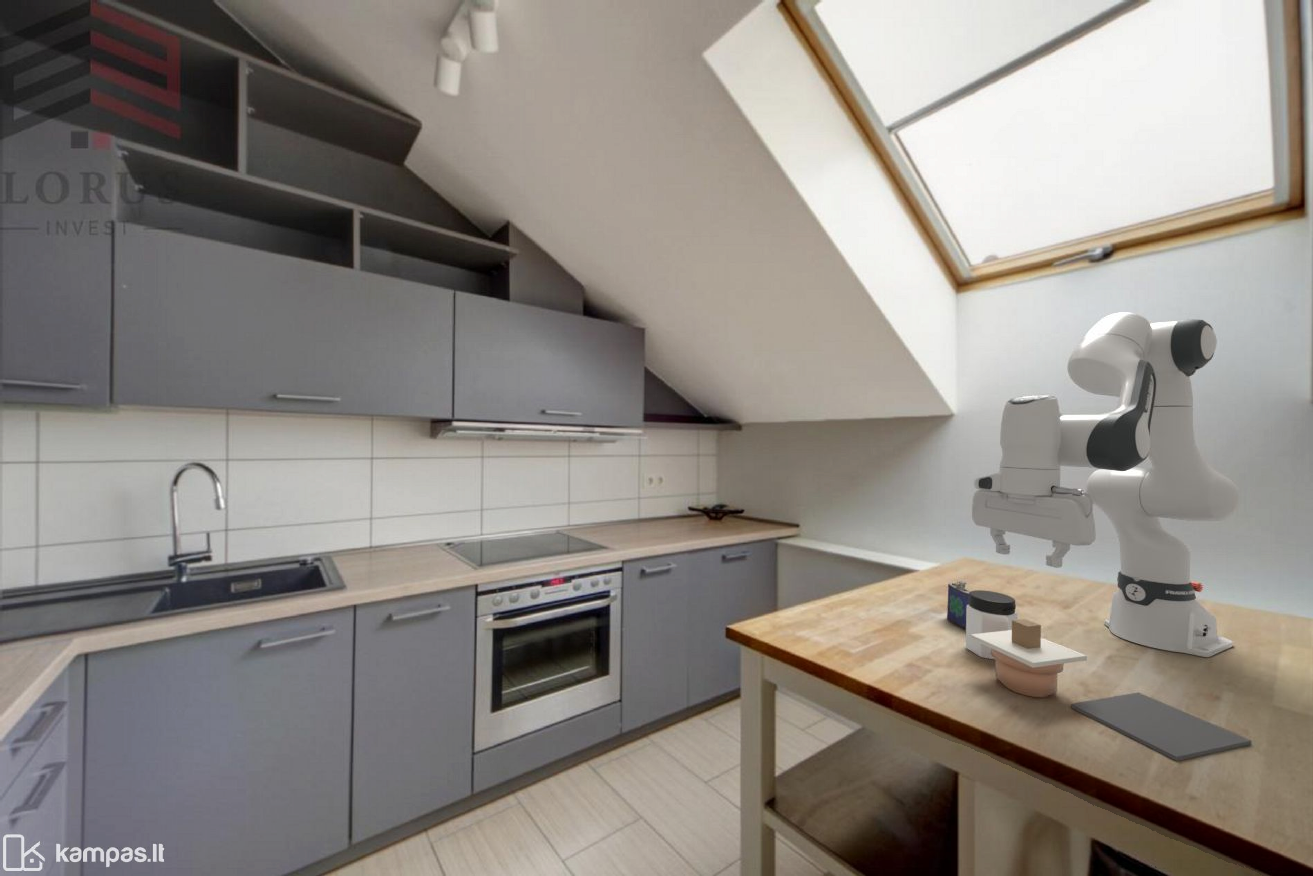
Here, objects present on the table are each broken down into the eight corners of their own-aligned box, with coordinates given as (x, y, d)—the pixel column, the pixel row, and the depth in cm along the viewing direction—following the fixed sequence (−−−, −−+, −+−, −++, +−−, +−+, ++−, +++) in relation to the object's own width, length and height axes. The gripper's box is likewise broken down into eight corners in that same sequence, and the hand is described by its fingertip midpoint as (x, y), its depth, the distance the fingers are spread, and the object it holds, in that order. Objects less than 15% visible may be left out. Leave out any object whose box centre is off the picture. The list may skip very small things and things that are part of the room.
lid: (1019, 633, 96) (1019, 608, 96) (1086, 660, 85) (1087, 632, 85) (970, 638, 93) (970, 613, 93) (1033, 667, 82) (1033, 639, 82)
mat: (1138, 695, 87) (1138, 692, 87) (1251, 744, 73) (1251, 740, 73) (1070, 707, 83) (1070, 703, 83) (1176, 761, 69) (1176, 756, 69)
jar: (1003, 665, 98) (1004, 605, 98) (959, 650, 104) (960, 594, 104) (1022, 655, 103) (1023, 598, 102) (979, 641, 109) (980, 587, 109)
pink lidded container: (1019, 670, 96) (1020, 634, 96) (1078, 698, 85) (1079, 659, 85) (976, 676, 93) (976, 639, 93) (1031, 706, 83) (1032, 665, 83)
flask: (980, 632, 114) (980, 586, 114) (967, 632, 114) (968, 586, 114) (954, 617, 123) (954, 575, 123) (942, 618, 123) (943, 575, 123)
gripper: (1106, 490, 80) (1104, 574, 80) (991, 478, 99) (990, 546, 100) (1077, 490, 78) (1075, 576, 78) (966, 479, 98) (965, 547, 98)
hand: (1027, 559), depth 89 cm, fingers open, 8 cm apart
